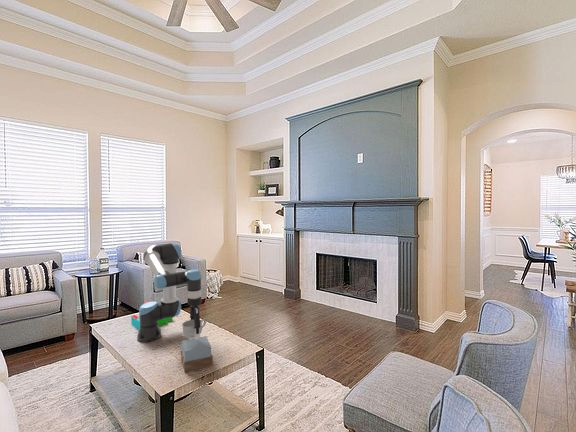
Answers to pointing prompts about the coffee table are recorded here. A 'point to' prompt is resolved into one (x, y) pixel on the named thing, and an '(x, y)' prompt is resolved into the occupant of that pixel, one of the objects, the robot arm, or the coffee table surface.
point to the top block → (196, 349)
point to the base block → (196, 363)
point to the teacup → (191, 328)
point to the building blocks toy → (136, 320)
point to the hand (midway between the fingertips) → (195, 335)
